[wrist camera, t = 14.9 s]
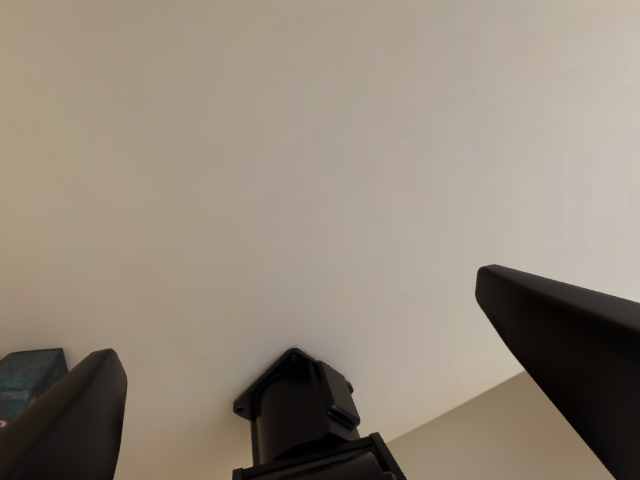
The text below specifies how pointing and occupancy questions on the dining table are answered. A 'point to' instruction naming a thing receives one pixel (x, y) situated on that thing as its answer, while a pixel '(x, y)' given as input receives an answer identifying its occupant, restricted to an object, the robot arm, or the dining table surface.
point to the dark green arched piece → (27, 379)
